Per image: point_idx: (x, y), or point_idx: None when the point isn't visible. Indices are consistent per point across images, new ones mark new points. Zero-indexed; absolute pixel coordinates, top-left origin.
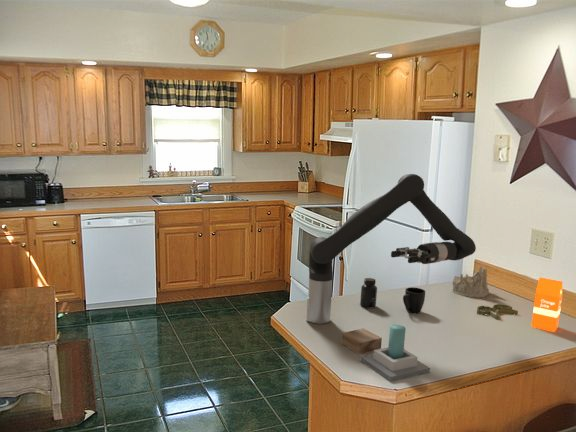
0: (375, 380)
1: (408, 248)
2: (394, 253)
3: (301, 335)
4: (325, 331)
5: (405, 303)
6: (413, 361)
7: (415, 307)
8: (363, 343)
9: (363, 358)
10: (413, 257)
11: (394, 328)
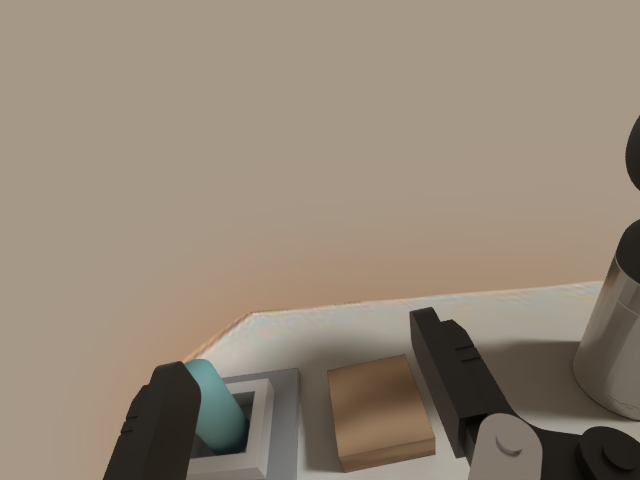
0: (215, 363)
1: None
2: (420, 344)
3: (471, 305)
4: (503, 365)
5: None
6: None
7: None
8: (329, 384)
9: (286, 369)
10: (142, 419)
11: (191, 367)
